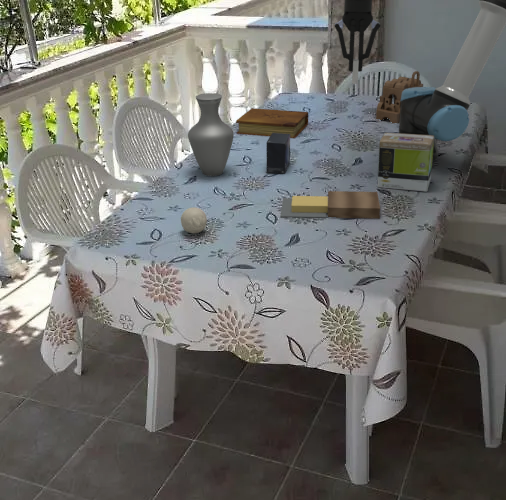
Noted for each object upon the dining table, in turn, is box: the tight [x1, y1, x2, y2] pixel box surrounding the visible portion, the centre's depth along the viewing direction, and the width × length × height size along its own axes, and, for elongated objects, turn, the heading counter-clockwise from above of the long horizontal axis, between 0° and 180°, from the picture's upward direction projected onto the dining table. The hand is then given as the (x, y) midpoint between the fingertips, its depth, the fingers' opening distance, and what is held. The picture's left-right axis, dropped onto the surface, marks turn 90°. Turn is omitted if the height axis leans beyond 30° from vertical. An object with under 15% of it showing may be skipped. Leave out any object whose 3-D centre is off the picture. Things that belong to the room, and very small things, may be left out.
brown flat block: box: [327, 190, 381, 220], centre depth 193 cm, size 14×12×3 cm
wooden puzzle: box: [375, 70, 424, 124], centre depth 273 cm, size 22×15×19 cm, turn 136°
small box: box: [265, 133, 291, 175], centre depth 223 cm, size 11×6×10 cm, turn 168°
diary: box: [235, 107, 309, 139], centre depth 264 cm, size 23×19×6 cm
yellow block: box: [291, 195, 328, 214], centre depth 194 cm, size 10×7×2 cm
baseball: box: [180, 207, 208, 234], centre depth 181 cm, size 7×7×7 cm
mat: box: [280, 197, 327, 219], centre depth 195 cm, size 12×13×1 cm
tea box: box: [377, 132, 434, 193], centre depth 207 cm, size 15×10×15 cm, turn 71°
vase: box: [187, 92, 235, 177], centre depth 218 cm, size 14×14×25 cm
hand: (354, 82), depth 200 cm, fingers closed
